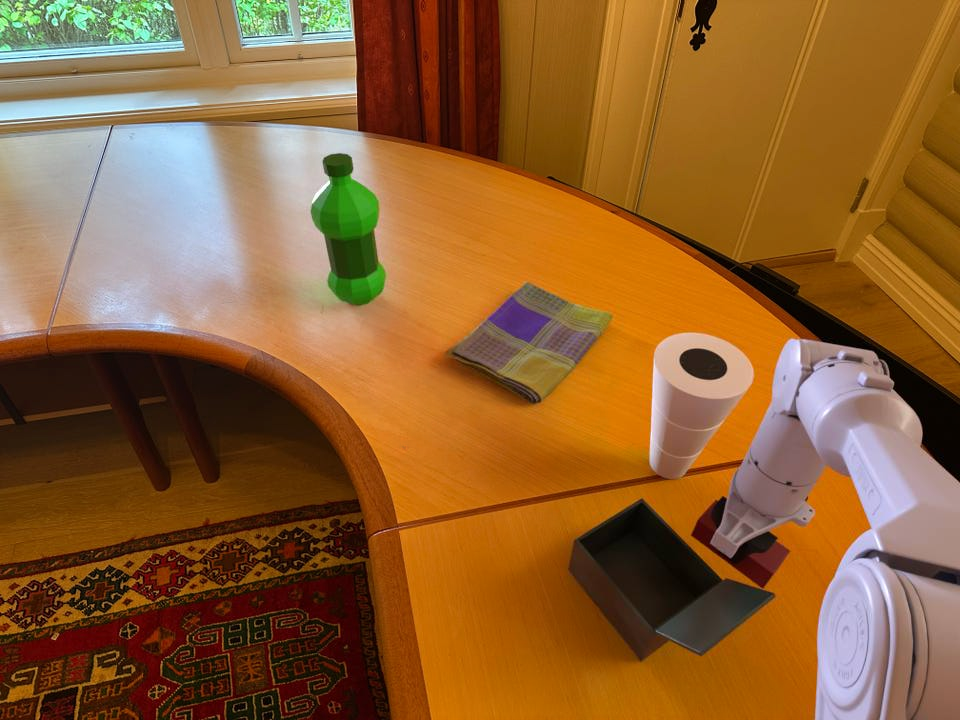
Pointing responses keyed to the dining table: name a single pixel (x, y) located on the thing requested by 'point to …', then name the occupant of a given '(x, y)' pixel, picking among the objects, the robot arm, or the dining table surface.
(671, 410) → the white paper towel roll
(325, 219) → the plastic bottle
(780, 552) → the red rectangular block
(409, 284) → the dining table surface
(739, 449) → the dining table surface
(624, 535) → the carton
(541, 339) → the dish towel
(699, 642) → the carton flap
